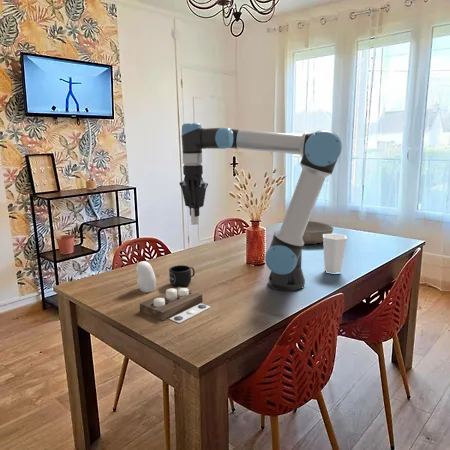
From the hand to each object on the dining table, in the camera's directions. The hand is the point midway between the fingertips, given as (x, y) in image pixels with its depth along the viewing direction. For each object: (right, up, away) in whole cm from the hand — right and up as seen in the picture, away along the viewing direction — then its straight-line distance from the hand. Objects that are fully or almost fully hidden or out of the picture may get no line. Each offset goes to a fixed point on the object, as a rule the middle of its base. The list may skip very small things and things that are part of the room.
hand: (195, 224), depth 156 cm
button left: (-11, -31, -17) cm, 37 cm away
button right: (-4, -29, -8) cm, 30 cm away
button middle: (-8, -28, -13) cm, 32 cm away
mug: (-6, -25, +10) cm, 28 cm away
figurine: (-20, -27, +4) cm, 34 cm away
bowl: (+62, -10, +76) cm, 98 cm away
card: (0, -31, -18) cm, 36 cm away
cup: (+61, -22, +23) cm, 69 cm away
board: (-8, -30, -12) cm, 34 cm away
